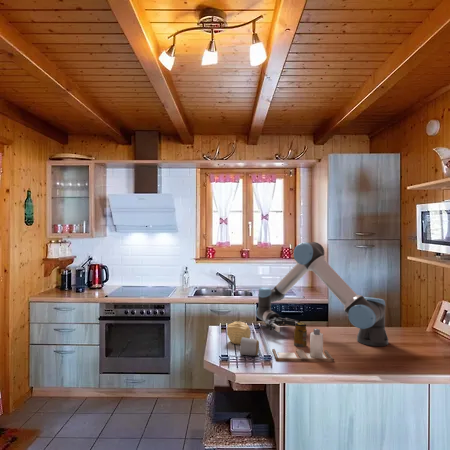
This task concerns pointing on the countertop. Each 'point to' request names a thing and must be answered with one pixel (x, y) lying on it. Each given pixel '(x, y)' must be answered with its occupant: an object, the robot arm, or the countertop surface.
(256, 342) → the ceramic mug
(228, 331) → the sculpture
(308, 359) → the walnut tray
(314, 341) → the white bottle
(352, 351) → the countertop surface
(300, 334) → the condiment
